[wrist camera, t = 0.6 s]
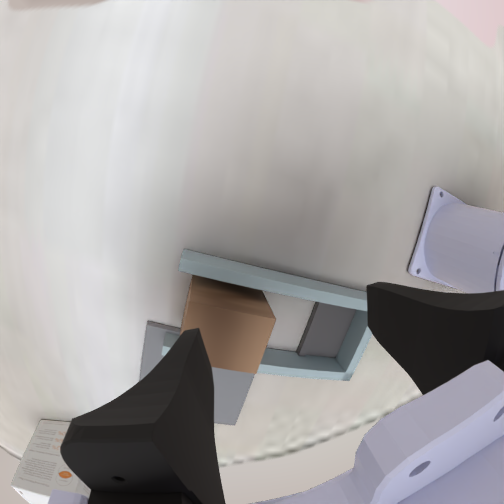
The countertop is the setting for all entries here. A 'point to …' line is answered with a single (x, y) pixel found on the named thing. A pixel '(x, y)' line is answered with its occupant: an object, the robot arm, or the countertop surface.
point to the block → (229, 322)
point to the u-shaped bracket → (318, 328)
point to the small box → (46, 466)
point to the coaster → (225, 381)
